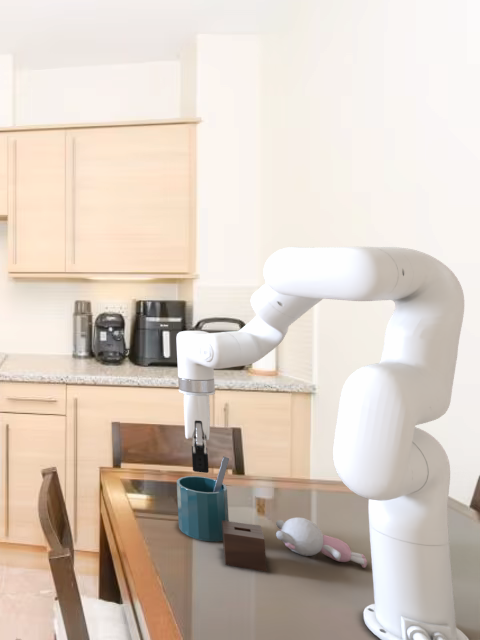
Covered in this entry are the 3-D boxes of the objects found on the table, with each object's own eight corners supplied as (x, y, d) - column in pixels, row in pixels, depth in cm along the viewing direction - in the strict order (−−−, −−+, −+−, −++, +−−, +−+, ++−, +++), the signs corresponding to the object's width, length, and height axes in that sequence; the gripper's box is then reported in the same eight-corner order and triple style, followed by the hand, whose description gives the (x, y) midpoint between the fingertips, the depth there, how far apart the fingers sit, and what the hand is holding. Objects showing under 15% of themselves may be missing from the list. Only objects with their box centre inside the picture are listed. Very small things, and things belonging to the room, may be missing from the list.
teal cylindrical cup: (231, 544, 107) (228, 496, 108) (178, 536, 111) (176, 489, 112) (227, 524, 117) (225, 479, 117) (179, 517, 121) (177, 473, 121)
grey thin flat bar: (211, 530, 112) (231, 459, 114) (201, 525, 113) (221, 455, 115) (211, 530, 113) (231, 459, 115) (201, 525, 114) (221, 455, 116)
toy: (351, 572, 103) (270, 529, 110) (365, 542, 102) (282, 500, 109) (359, 594, 96) (271, 546, 103) (374, 562, 95) (284, 515, 102)
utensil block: (266, 571, 97) (264, 539, 97) (225, 564, 100) (223, 533, 100) (262, 556, 103) (260, 525, 103) (223, 550, 105) (221, 520, 106)
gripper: (178, 378, 125) (182, 455, 124) (177, 391, 110) (182, 479, 109) (212, 380, 122) (216, 458, 121) (216, 394, 107) (221, 483, 106)
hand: (200, 467), depth 115 cm, fingers open, 3 cm apart
